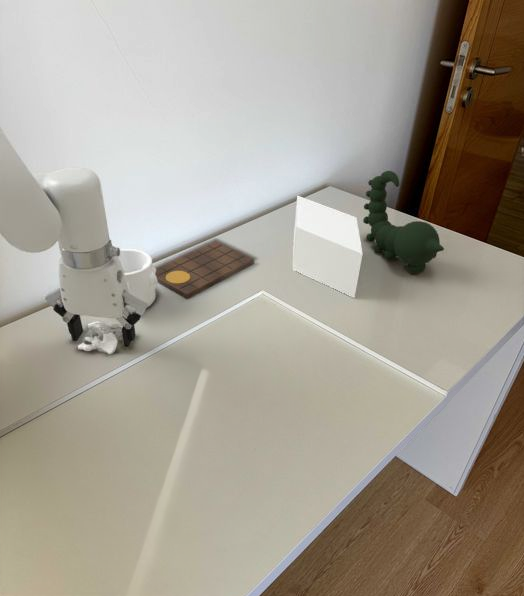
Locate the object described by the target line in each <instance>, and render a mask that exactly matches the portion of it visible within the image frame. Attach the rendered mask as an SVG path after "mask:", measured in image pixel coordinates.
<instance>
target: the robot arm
mask: <svg viewBox="0 0 524 596" xmlns="http://www.w3.org/2000/svg"><path fill="white" fill-rule="evenodd" d="M106 213H107V212H106V207H105V201H104V195H103V190H102V184H101V179H100V178H99V176H98V174H96V173H95V171H93V170H91V169H89V168H86V167H79V166H78V167H77V166H70V167H64V168H63V167H62V168H60V169H56V170H54V171H51V172H49V171H48V172H31V171H30V169H29V168H28V167H27V165H26V164H25V162H24V161H23V159H22V158H21V157H20V155H19V154H18V152H17V151H16V149H15V148H14V146H13V145H12V143H11V142H10V140H9V139H8V137H7V136H6V135H5V133H4V131H3V130H2V128H1V127H0V235H1V236H2V238H3V239H4V240H5V241H6V242H7V243H8V244H9V245H11V247H13V248H15V249H17V250H19V251H21V252H25V253H31V254H36V253H42V252H46V251H47V250H49V249H51V248H52V247H53V246H55V244H57V245H58V248H59V251H60V258H59V259H58V283H59V287H58V288H56V289H54V290H52V291H50V292H48V293H47V294H46V296H45V297H44V300H45V301H46V302H47V304H49V305H50V306H51V307H52V308H53V311H54V312H55V313H56V314H58V315H59V316H60V317H61V318H62V321H63V322H64V323H66V325H67V330H68V333H69V334H70V337H71V340H72V342H75V343H76V342H78V341H79V339H80V338H81V336H82V335H83V333H84V328H83V323H82V319H81V316H84V317H85V316H87V317H95V318H104V319H106V318H107V319H115V320H116V321H118V322H119V324H120V325H121V326H123V327H122V328H121V332H122V333H121V334H122V336H123V340H122V342H123V347H125V348H130V345H131V344H132V342H133V341H135V339H136V328H135V324H137V323H138V322H140V320H141V319H142V316H143V315H144V313H145V311H146V310H147V308H148V307H147V306H148V305H147V303H145V302H143V301H142V300H140V299H138V298H136V297H135V296H133V295H131V294H129V290H128V285H127V281H126V278H125V274H124V271H123V268H122V265H121V263H120V261H119V258H118V256H119V255H120V250H121V249H120V247H116V246H115V245H114V246H113V243H112V242H113V241H112V239H111V238H110V232H109V226H108V220H107V215H106ZM60 299H61V300H60ZM126 305H130V306H131V307H133V308H135V309H136V311H135V312H131V311H130V310H129V309H128V308H127V307H126Z"/></svg>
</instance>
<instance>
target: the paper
mask: <svg viewBox="0 0 524 596" xmlns="http://www.w3.org/2000/svg"><path fill="white" fill-rule="evenodd" d="M357 218H358V217H357V216H354V215H351V214H348V213H346V212H343V211H340V210H338V209H335V208H332V207H330V206H326V205H324V204H321V203H319V202H316V201H313V200H311V199H308V198H305V197H302V196H300V195H297V196H296V206H295V216H294V227H293V243H294V244H293V243H292V244H293V245H292V246H293V247H292V266H291V267H292V269H291V270H292V271H294V272H296V271H297V272H296V273H298V272H299V274H300V273H301V275H303V276H305V277H307V278H309V279H311V280H313V279H314V280H313V281H315V282H318V283H320V284H322V283H323V284H322V285H324V284H325V286H326V285H327V286H326V287H328V286H329V288H331V289H333V288H334V289H333V290H335V289H336V290H335V291H337V290H338V291H337V292H339V291H340V292H339V293H341V292H342V293H341V294H344V293H345V294H344V295H346V294H347V295H346V296H348V295H349V297H350V296H351V297H350V298H352V297H353V298H352V299H355V298H356V292H357V286H358V281H359V275H360V270H361V265H362V260H363V259H362V258H363V249H362V243H361V236H360V231H359V224H358V219H357Z"/></svg>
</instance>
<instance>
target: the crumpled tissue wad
mask: <svg viewBox="0 0 524 596" xmlns="http://www.w3.org/2000/svg"><path fill="white" fill-rule="evenodd" d="M122 328H123V325H118V324H116V323H112V324H103V322H101V321H97V320H96V321H93V322H89V323H87V333H88V336H85V337H84V340H85V341H86V342H88V343H91V344H87V343H85V342H81V343H80V344H78V345H77V349H78V350H84V351H85V352H90V351H93V350H97V351H98V352H99V353H107V354H108V355H112V354H113V353H114V352H115V351H116V349H117V346H118V342H119V341H123V336H122ZM92 332H95V333H96V334H97V335H94V336H93V333H92ZM101 338H102V340H101Z"/></svg>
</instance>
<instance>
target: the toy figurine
mask: <svg viewBox="0 0 524 596" xmlns="http://www.w3.org/2000/svg"><path fill="white" fill-rule="evenodd" d="M390 182H392V183H393V184H394V186H395V187H397V188H398V187H400V179H399V176H398V175H397V174H396V173H395V172H394V171H392V170H386V171H383V172H381V174H380V175H376V176H375V177H373V178H372V179H368V182H367V184H368V186H370V190H367V191H366V192H365V196H366V197H367V198H369V200H370V201H369V202H368V203H367V202H366V203H365V204H363V209H364V210H367V211H368V215H367V216H365V217H364V218H363V220H362V221H363V223H364V224H366V225H369V226H370V227H371V228H370V233H367V234H366V237H365V239H366V241H367V242H369V243H372V242H374V241H375V244H376V245H375V246H374V248H373V250H374V253H376V254H378V255H380V254H382V253H383V252H384V254H383V255H384V259H385V260H386V261H388V262H391V261H395V260H396V259H397V258H398V259H399V260H400V261H401V262H403V263H404V264H405V265H406V271H407V272H408V273H409V274H413V275H416V274H420V273H421V272H424V271H425V270H426V264H428V263H430V262H431V261H432V260H433V259H436V258H437V255H438V253H439V252H443V251H444V250H445V248H444V246H442V245H441V243H440V241H441V240H440V236H439V234H438V231H437V230H436V228H435V227H434V226H433V225H432V224H430V223H429V222H426V221H420V220H415V221H411V222H409V223H406V224H404V225H402V226H401V225H398V226H396V225H394V224H392V223H391V222H390V221H389V215H388V213H387V208H388V205H387V201H386V198H387V197H388V193H387V190H386V188H387V184H388V183H390Z"/></svg>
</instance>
